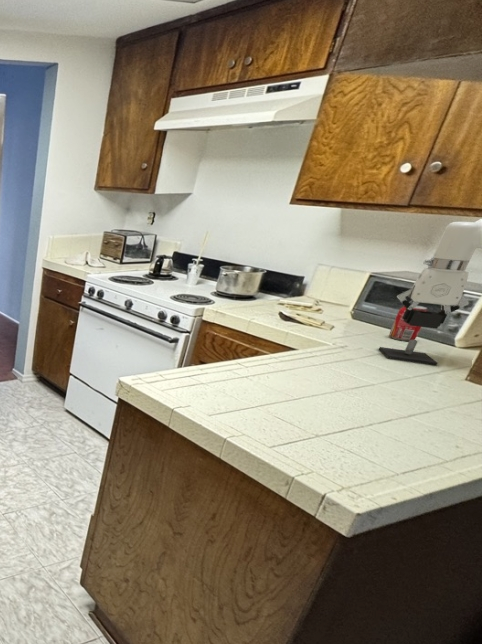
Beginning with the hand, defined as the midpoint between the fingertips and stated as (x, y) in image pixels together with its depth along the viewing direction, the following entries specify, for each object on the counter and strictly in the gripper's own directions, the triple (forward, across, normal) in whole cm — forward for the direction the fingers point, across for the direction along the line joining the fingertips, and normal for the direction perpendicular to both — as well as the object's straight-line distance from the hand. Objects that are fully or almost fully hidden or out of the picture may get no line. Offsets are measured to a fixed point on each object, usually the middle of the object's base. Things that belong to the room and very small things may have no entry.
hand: (421, 323), depth 146 cm
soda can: (+11, +5, +28) cm, 31 cm away
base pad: (+11, 0, 0) cm, 11 cm away
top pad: (+1, 0, 0) cm, 1 cm away
